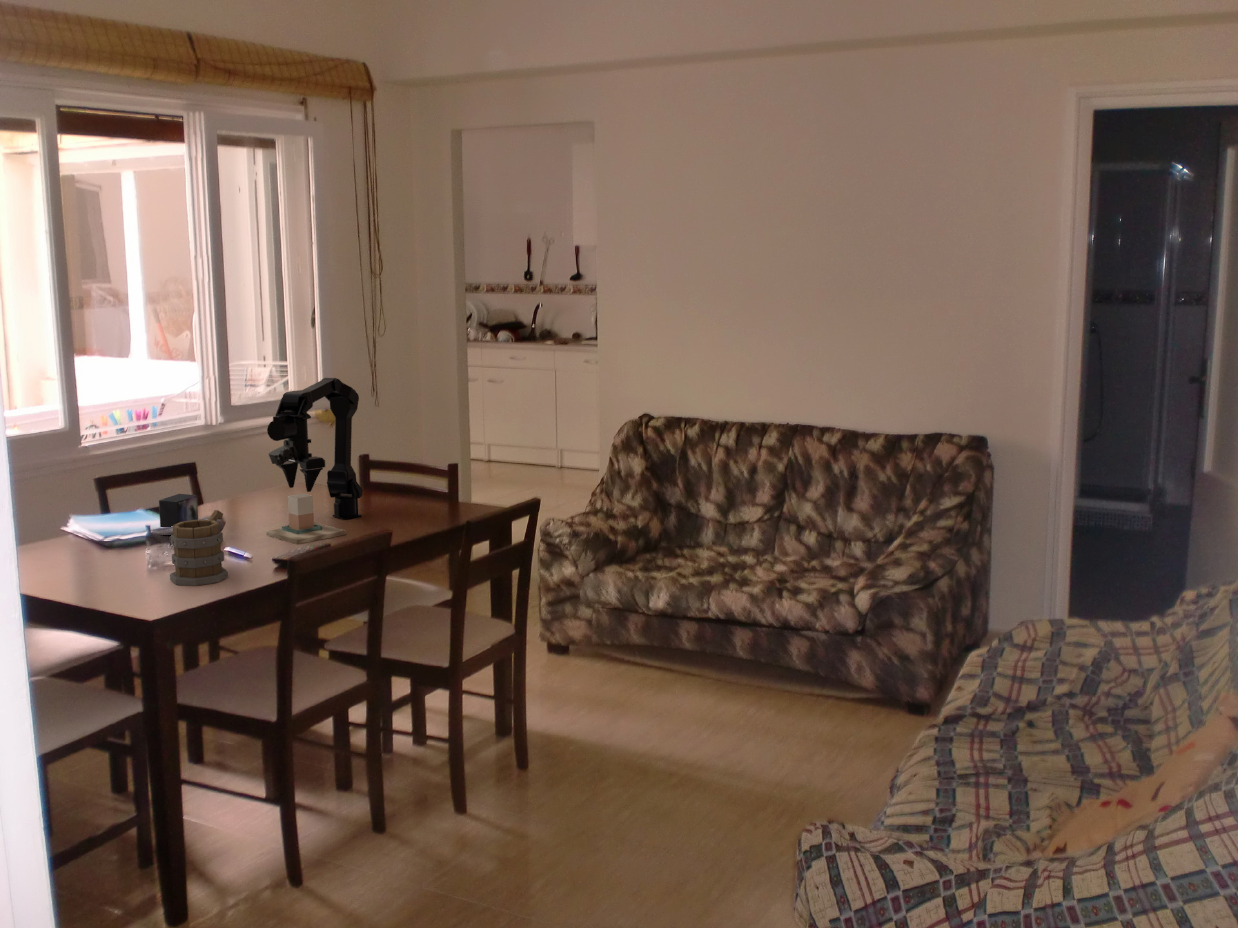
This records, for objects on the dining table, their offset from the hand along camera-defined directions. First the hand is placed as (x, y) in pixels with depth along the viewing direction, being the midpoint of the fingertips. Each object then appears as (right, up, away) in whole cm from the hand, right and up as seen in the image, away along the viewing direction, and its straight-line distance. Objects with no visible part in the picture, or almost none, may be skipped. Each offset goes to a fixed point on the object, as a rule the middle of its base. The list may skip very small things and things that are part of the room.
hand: (300, 489), depth 331 cm
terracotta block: (0, -12, +2) cm, 12 cm away
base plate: (+1, -13, +1) cm, 13 cm away
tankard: (-12, -21, -42) cm, 48 cm away
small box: (-36, -13, +4) cm, 39 cm away
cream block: (0, -7, +1) cm, 7 cm away
